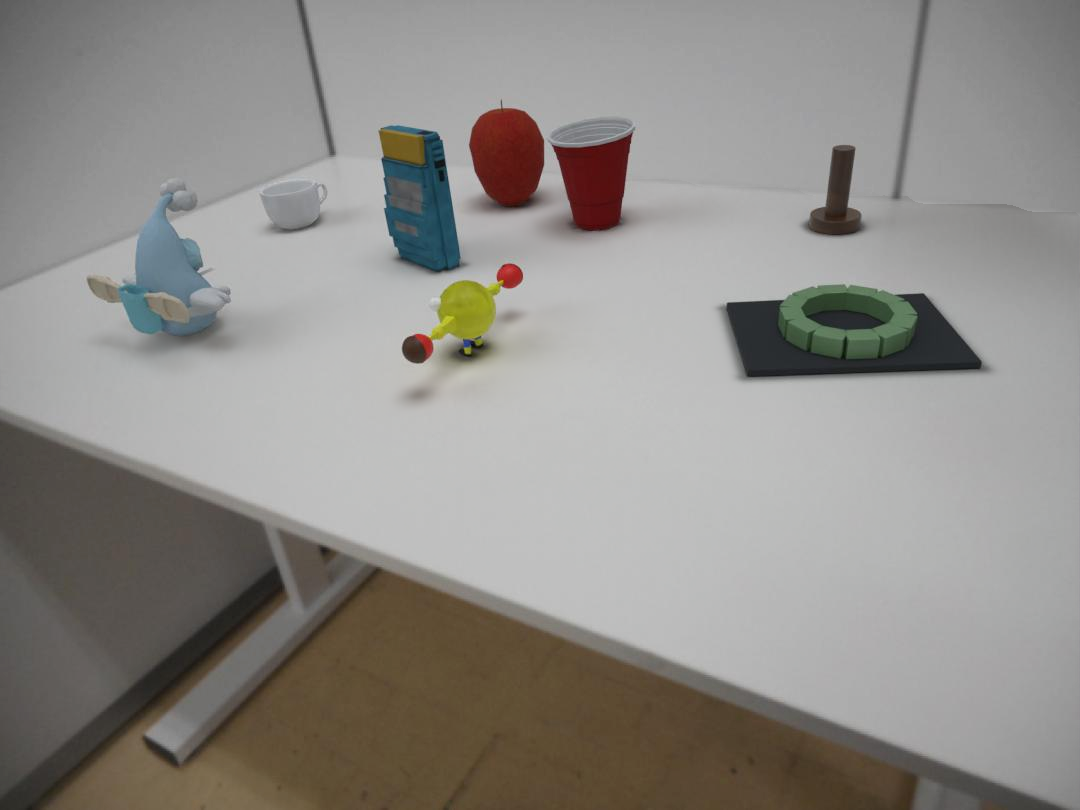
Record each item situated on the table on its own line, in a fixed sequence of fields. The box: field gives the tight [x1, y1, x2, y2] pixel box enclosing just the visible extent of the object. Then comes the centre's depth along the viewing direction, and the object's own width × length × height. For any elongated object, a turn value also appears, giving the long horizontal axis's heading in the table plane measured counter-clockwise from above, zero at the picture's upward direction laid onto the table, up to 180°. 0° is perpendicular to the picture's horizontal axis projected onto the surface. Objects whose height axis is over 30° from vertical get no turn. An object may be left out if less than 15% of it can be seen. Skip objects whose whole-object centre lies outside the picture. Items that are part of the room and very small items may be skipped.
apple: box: [468, 98, 545, 208], centre depth 102 cm, size 10×10×14 cm
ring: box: [778, 283, 918, 359], centre depth 64 cm, size 11×11×2 cm
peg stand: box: [808, 144, 862, 235], centre depth 85 cm, size 6×6×9 cm
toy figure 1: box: [86, 177, 232, 337], centre depth 74 cm, size 17×10×15 cm, turn 57°
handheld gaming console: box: [378, 124, 462, 273], centre depth 85 cm, size 10×4×15 cm, turn 43°
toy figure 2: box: [401, 262, 524, 365], centre depth 67 cm, size 18×6×7 cm, turn 152°
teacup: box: [258, 178, 328, 230], centre depth 105 cm, size 10×8×5 cm
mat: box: [726, 292, 983, 377], centre depth 65 cm, size 18×13×1 cm
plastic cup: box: [546, 115, 637, 231], centre depth 92 cm, size 11×11×12 cm
